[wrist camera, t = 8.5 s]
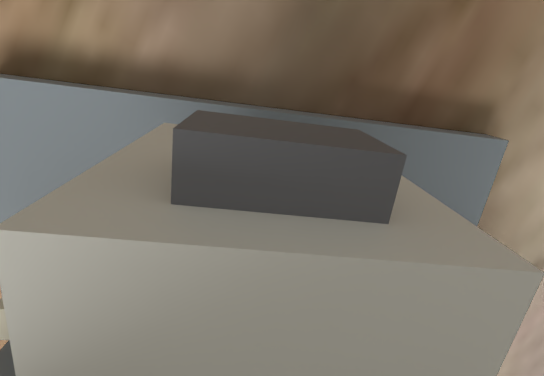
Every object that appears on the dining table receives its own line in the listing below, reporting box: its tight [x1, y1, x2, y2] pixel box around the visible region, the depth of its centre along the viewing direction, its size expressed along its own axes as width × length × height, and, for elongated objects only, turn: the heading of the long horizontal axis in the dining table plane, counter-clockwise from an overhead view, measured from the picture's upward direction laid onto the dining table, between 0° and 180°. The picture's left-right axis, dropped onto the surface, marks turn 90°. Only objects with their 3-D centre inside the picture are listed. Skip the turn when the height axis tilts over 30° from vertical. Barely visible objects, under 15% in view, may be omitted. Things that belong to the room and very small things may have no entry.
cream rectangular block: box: [0, 110, 544, 376], centre depth 9 cm, size 6×13×7 cm, turn 173°
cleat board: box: [0, 74, 509, 376], centre depth 12 cm, size 22×14×12 cm, turn 83°
